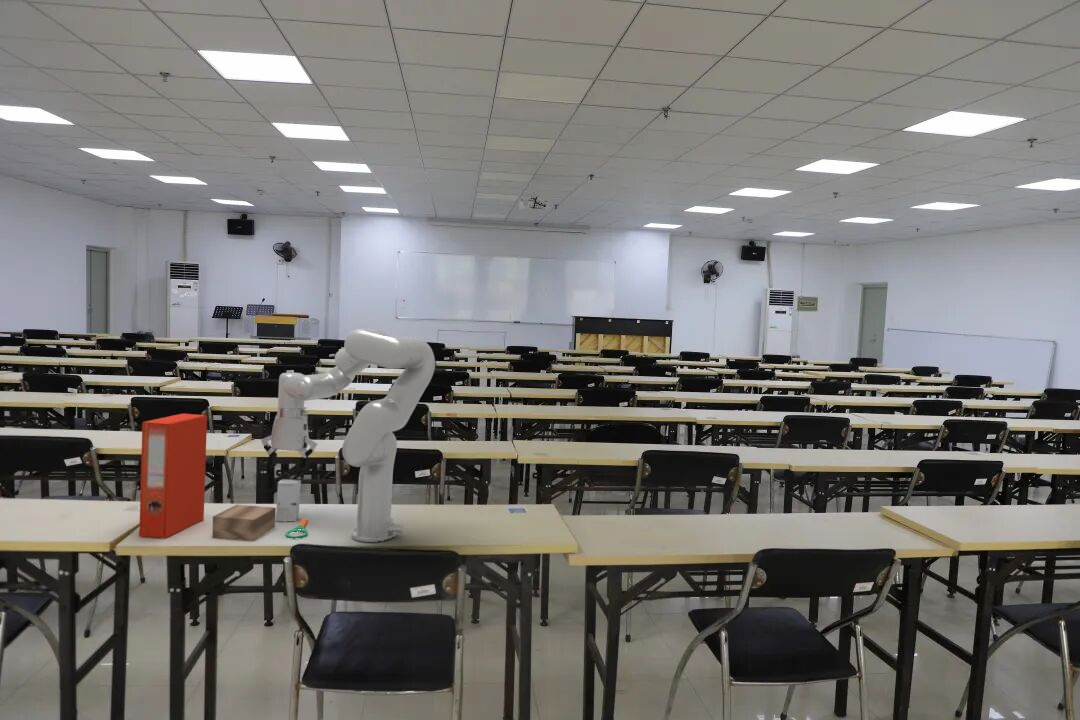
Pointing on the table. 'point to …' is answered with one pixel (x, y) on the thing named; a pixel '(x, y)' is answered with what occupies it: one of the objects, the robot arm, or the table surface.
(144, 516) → the file binder
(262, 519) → the walnut block
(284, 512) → the skincare box
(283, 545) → the table surface
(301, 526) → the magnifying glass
